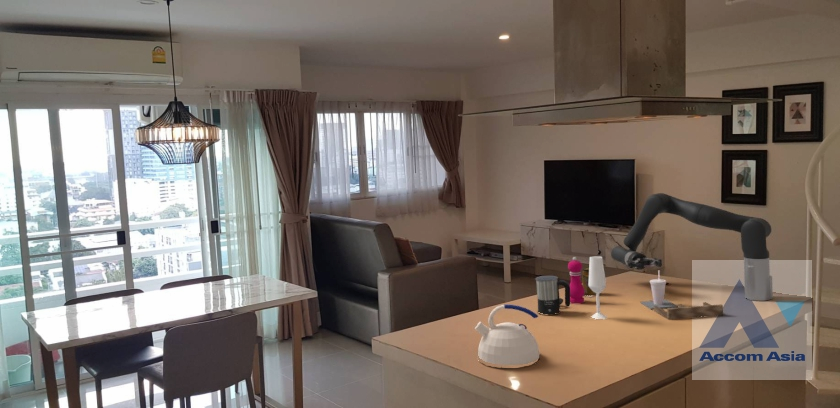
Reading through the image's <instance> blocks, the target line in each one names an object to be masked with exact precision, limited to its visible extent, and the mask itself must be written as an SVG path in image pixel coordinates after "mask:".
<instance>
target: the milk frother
mask: <svg viewBox="0 0 840 408" xmlns="http://www.w3.org/2000/svg"><path fill="white" fill-rule="evenodd" d="M558 278H559V277H558V276H555V275H541V276H537V277H535V278H534V280H535V282H536V295H537V313H538V312H540V313H543V314H555V313H559V312H560V313H561V310H560V309H561V305H562V304H563V303H564V305H565V307H570V306H571V303H570V283H568V282H567V281H566V280H564V279H558ZM559 286H563V287H564V299H563V298H561V297H560V287H559ZM560 313H559V314H560Z"/></svg>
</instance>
